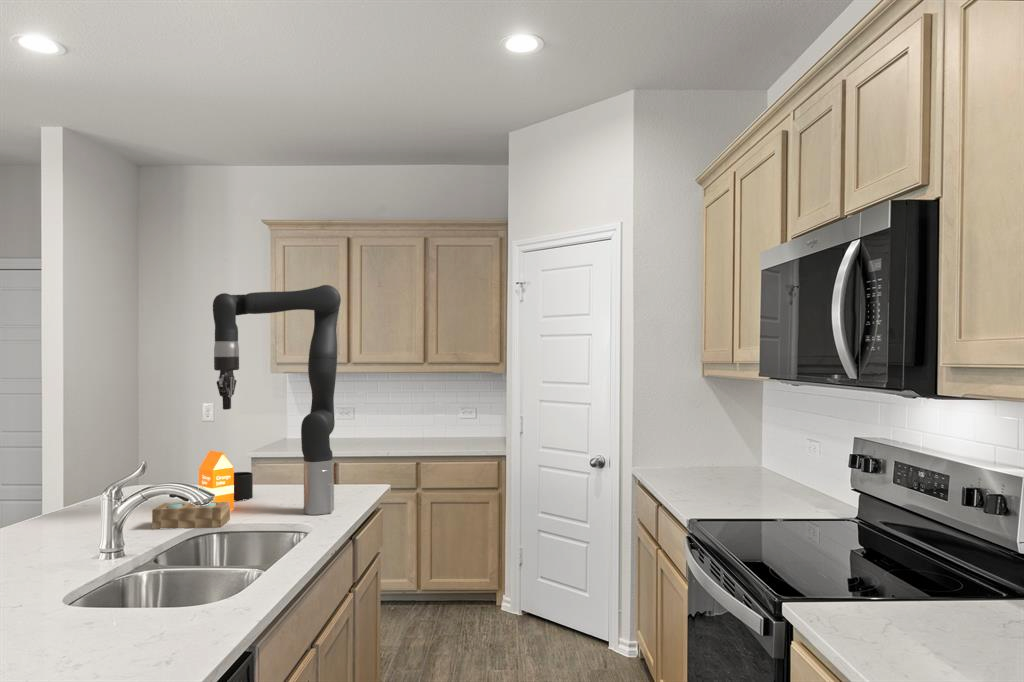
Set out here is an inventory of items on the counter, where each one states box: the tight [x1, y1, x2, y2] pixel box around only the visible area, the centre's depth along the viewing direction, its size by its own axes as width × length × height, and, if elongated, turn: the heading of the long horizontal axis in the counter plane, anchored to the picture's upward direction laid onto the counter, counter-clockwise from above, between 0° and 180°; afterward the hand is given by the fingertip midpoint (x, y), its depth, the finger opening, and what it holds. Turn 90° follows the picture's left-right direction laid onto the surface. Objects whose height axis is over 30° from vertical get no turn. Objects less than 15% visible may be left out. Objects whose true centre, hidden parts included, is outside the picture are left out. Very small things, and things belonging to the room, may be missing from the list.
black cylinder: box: [234, 471, 254, 500], centre depth 258 cm, size 9×12×9 cm
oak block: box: [151, 501, 231, 530], centre depth 217 cm, size 20×9×6 cm, turn 95°
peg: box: [168, 504, 182, 508], centre depth 217 cm, size 4×4×6 cm
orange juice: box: [198, 450, 235, 510], centre depth 237 cm, size 8×9×20 cm
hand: (226, 409), depth 227 cm, fingers closed
